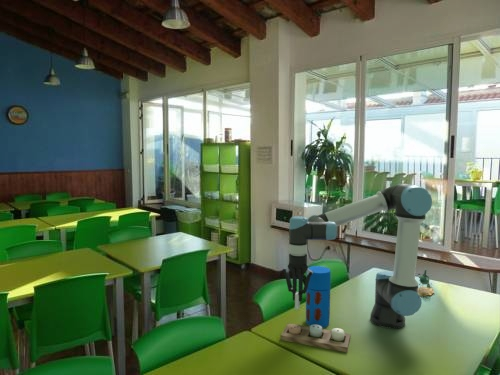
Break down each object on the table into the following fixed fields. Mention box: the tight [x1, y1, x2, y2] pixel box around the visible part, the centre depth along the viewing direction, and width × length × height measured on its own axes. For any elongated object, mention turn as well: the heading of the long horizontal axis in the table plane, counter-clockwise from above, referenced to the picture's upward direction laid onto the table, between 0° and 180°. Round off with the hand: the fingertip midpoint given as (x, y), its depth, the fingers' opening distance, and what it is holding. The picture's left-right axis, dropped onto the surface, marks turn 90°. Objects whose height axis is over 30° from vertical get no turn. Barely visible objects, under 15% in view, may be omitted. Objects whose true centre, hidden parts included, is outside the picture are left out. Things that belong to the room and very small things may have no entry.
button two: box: [309, 324, 323, 338], centre depth 155 cm, size 5×5×3 cm
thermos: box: [305, 265, 332, 329], centre depth 170 cm, size 11×11×25 cm
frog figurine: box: [417, 268, 435, 297], centre depth 208 cm, size 10×18×15 cm, turn 121°
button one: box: [331, 327, 345, 342], centre depth 152 cm, size 5×5×3 cm
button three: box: [289, 324, 301, 335], centre depth 158 cm, size 5×5×3 cm
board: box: [280, 323, 351, 353], centre depth 155 cm, size 27×12×2 cm, turn 69°
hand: (297, 308), depth 157 cm, fingers closed
